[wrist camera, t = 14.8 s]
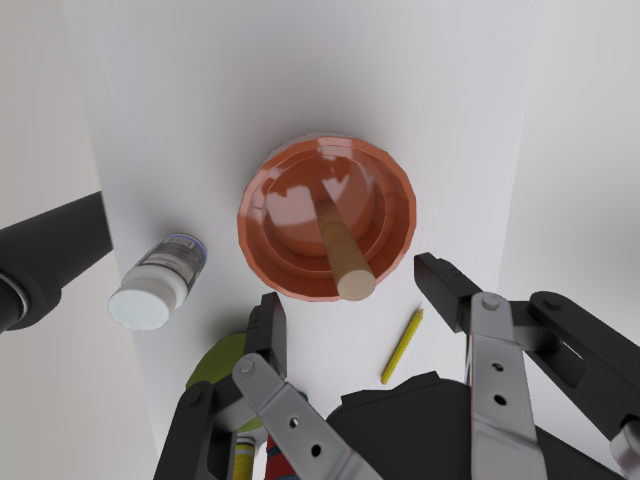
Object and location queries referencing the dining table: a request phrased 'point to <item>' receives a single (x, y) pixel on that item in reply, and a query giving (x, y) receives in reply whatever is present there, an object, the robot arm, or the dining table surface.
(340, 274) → the stirring stick
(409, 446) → the robot arm
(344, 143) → the bowl
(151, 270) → the pill bottle
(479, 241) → the dining table surface
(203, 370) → the apple
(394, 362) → the pencil
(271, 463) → the red striped curved tube
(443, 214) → the dining table surface
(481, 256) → the dining table surface
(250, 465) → the supplement bottle
